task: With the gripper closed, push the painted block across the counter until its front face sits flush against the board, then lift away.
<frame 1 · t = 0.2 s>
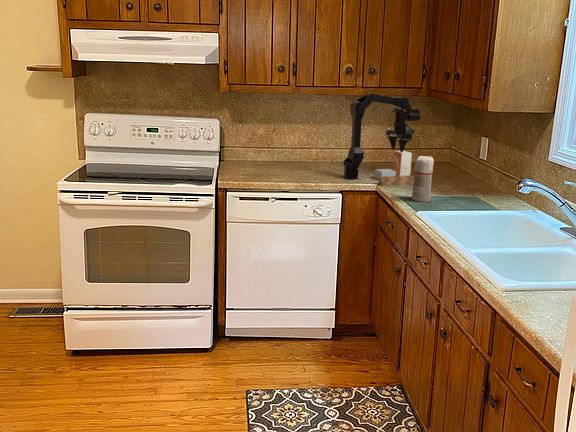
hand: (397, 150, 331), 14 cm above the worktop, tool pointing down, fingers open, 9 cm apart
spray can: (420, 200, 282), on the worktop
small box: (401, 175, 338), on the worktop
block: (384, 179, 326), on the worktop
board: (396, 184, 314), on the worktop
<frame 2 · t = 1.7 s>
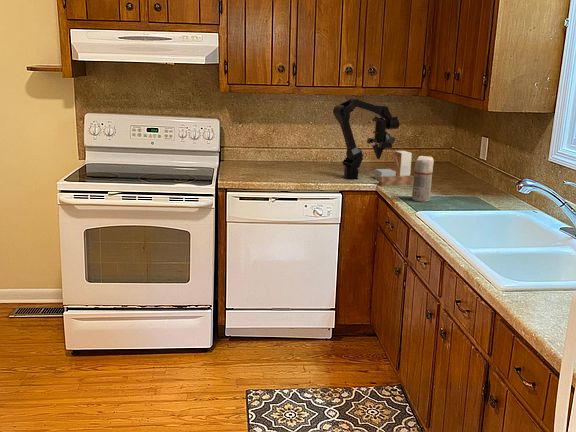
hand: (378, 159, 332), 9 cm above the worktop, tool pointing down, fingers closed
nothing on the worktop moved.
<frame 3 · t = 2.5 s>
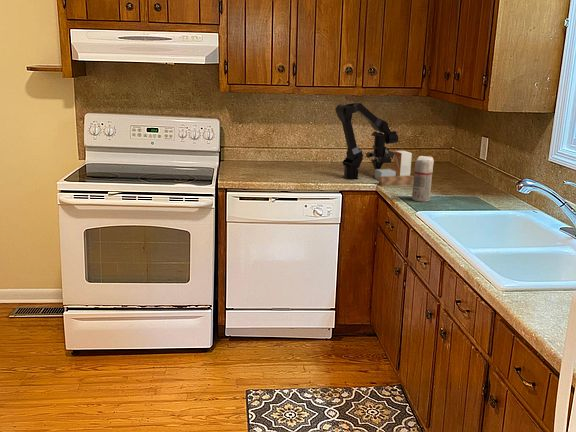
hand: (377, 173, 334), 2 cm above the worktop, tool pointing down, fingers closed
nothing on the worktop moved.
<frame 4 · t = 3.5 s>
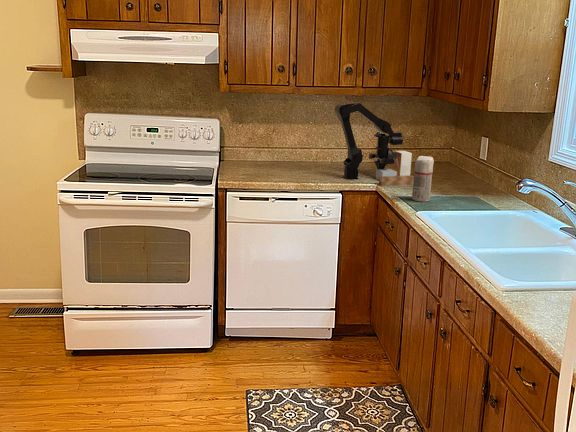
hand: (380, 174, 330), 2 cm above the worktop, tool pointing down, fingers closed
block: (385, 179, 325), on the worktop, touching gripper
everything else where it was.
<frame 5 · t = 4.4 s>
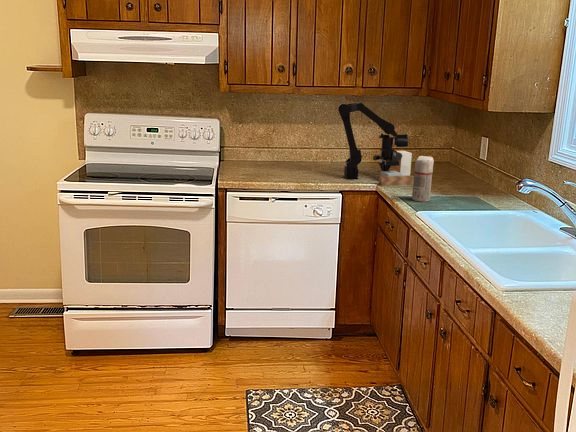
hand: (385, 176, 326), 2 cm above the worktop, tool pointing down, fingers closed
block: (390, 181, 321), on the worktop, touching gripper
everything else where it was.
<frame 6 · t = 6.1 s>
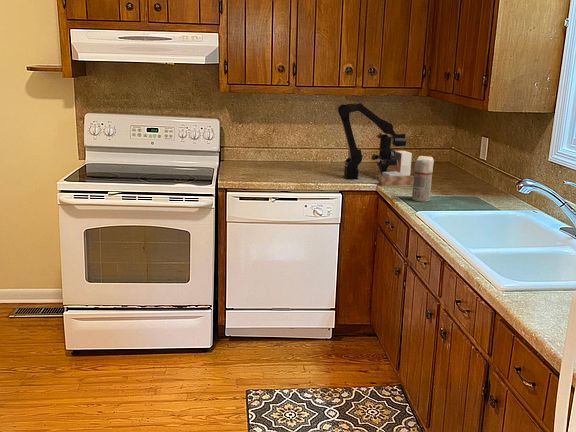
hand: (383, 175, 328), 1 cm above the worktop, tool pointing down, fingers closed
block: (392, 182, 320), on the worktop
everything else where it was.
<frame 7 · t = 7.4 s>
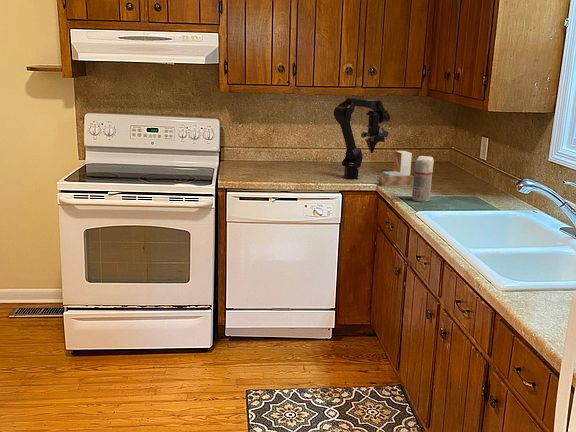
hand: (371, 152, 334), 12 cm above the worktop, tool pointing down, fingers closed
nothing on the worktop moved.
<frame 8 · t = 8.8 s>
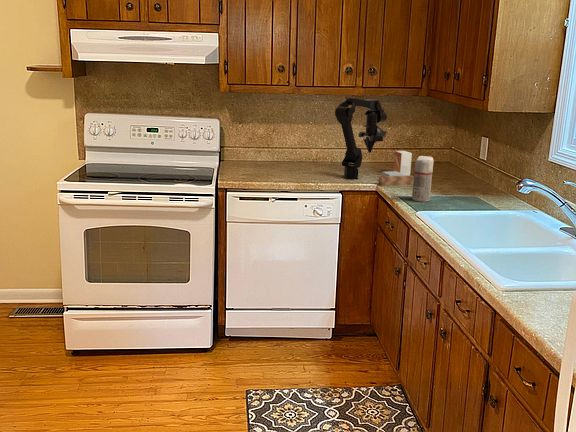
hand: (369, 152, 335), 12 cm above the worktop, tool pointing down, fingers closed
nothing on the worktop moved.
at the end: block inside the target area on the worktop beside the board (0.7 cm from its centre), on the worktop; block tilted 0° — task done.
